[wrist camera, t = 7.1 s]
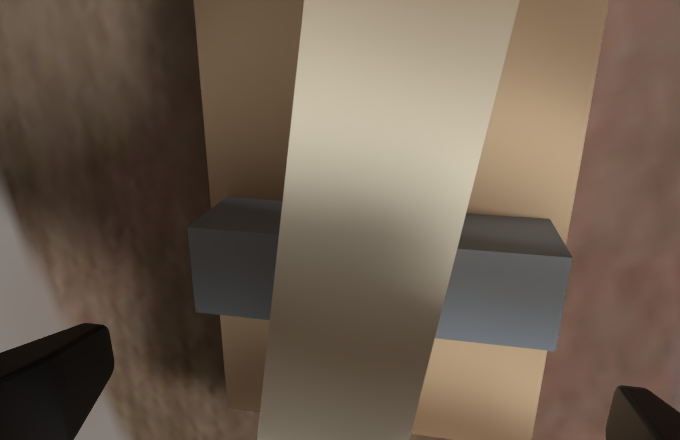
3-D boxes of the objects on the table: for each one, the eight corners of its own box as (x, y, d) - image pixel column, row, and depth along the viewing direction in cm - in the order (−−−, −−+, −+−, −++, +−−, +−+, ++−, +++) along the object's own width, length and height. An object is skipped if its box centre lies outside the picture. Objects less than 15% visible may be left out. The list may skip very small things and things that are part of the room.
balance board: (522, 417, 17) (544, 520, 14) (243, 380, 19) (195, 464, 15) (591, 2, 13) (651, -9, 9) (217, 2, 15) (141, -7, 11)
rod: (378, 510, 15) (363, 621, 12) (277, 483, 15) (241, 585, 12) (505, -23, 10) (529, -44, 7) (347, -44, 10) (312, -73, 7)
